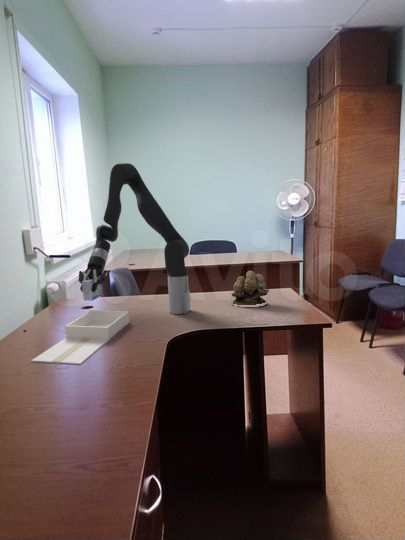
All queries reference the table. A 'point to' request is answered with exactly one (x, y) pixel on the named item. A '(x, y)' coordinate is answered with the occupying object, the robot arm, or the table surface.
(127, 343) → the table surface
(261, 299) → the brown lumpy mound
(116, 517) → the table surface
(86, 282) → the medicine box
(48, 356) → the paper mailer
